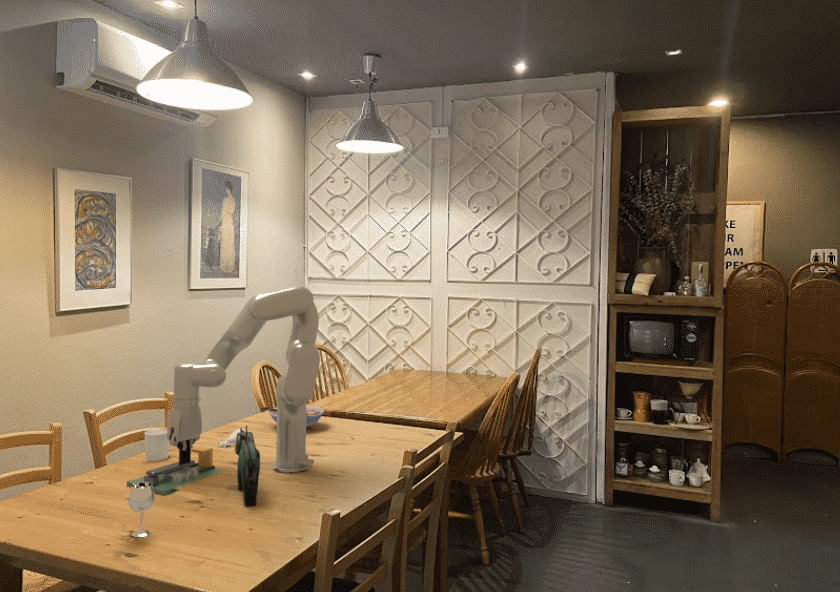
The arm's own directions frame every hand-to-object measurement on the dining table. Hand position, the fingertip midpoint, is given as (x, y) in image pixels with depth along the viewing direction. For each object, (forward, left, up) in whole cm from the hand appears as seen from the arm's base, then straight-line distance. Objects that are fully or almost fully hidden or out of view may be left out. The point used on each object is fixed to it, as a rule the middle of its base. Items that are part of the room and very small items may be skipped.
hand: (184, 461), depth 201 cm
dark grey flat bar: (0, +6, -1) cm, 6 cm away
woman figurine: (+16, -38, -5) cm, 42 cm away
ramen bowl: (+12, -70, -5) cm, 71 cm away
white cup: (+21, -7, -5) cm, 23 cm away
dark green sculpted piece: (-28, +3, -5) cm, 29 cm away
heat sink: (0, +7, -4) cm, 8 cm away
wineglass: (-25, +37, -5) cm, 45 cm away
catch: (0, -7, -3) cm, 8 cm away
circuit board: (0, +3, -5) cm, 6 cm away
